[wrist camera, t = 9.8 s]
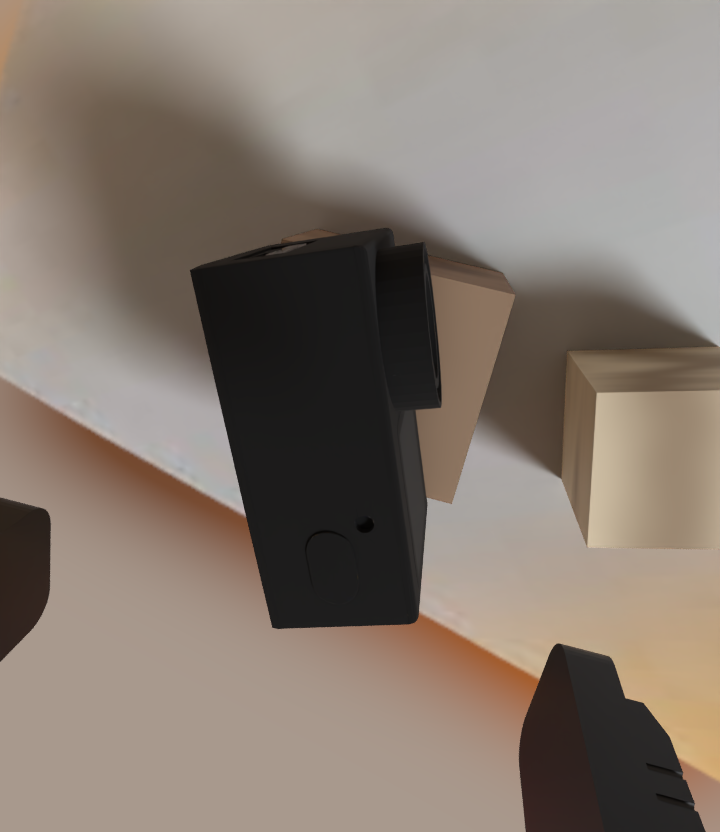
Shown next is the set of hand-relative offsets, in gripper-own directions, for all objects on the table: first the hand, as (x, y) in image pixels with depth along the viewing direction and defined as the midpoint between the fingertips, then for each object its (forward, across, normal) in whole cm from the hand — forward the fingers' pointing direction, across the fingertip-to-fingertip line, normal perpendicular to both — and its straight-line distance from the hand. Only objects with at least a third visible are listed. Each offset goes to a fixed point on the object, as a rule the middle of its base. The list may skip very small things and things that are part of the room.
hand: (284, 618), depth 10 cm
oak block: (+19, -11, +1) cm, 22 cm away
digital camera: (+14, 0, 0) cm, 14 cm away
